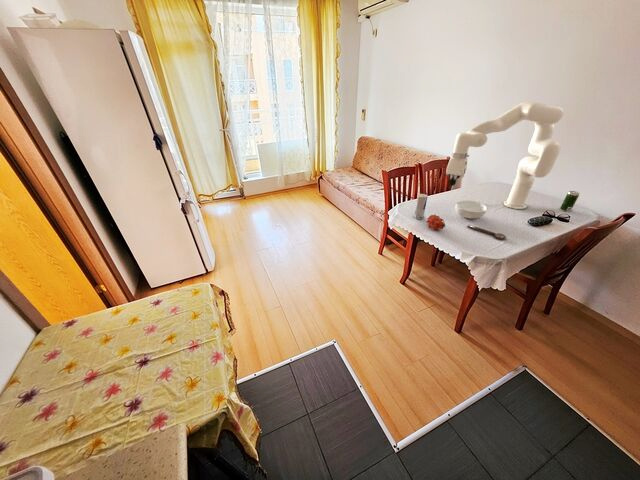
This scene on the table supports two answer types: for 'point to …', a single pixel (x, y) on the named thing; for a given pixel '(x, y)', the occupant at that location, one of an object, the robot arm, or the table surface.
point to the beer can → (569, 201)
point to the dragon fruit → (435, 222)
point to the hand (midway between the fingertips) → (452, 185)
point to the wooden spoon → (489, 232)
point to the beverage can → (420, 206)
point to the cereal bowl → (470, 209)
